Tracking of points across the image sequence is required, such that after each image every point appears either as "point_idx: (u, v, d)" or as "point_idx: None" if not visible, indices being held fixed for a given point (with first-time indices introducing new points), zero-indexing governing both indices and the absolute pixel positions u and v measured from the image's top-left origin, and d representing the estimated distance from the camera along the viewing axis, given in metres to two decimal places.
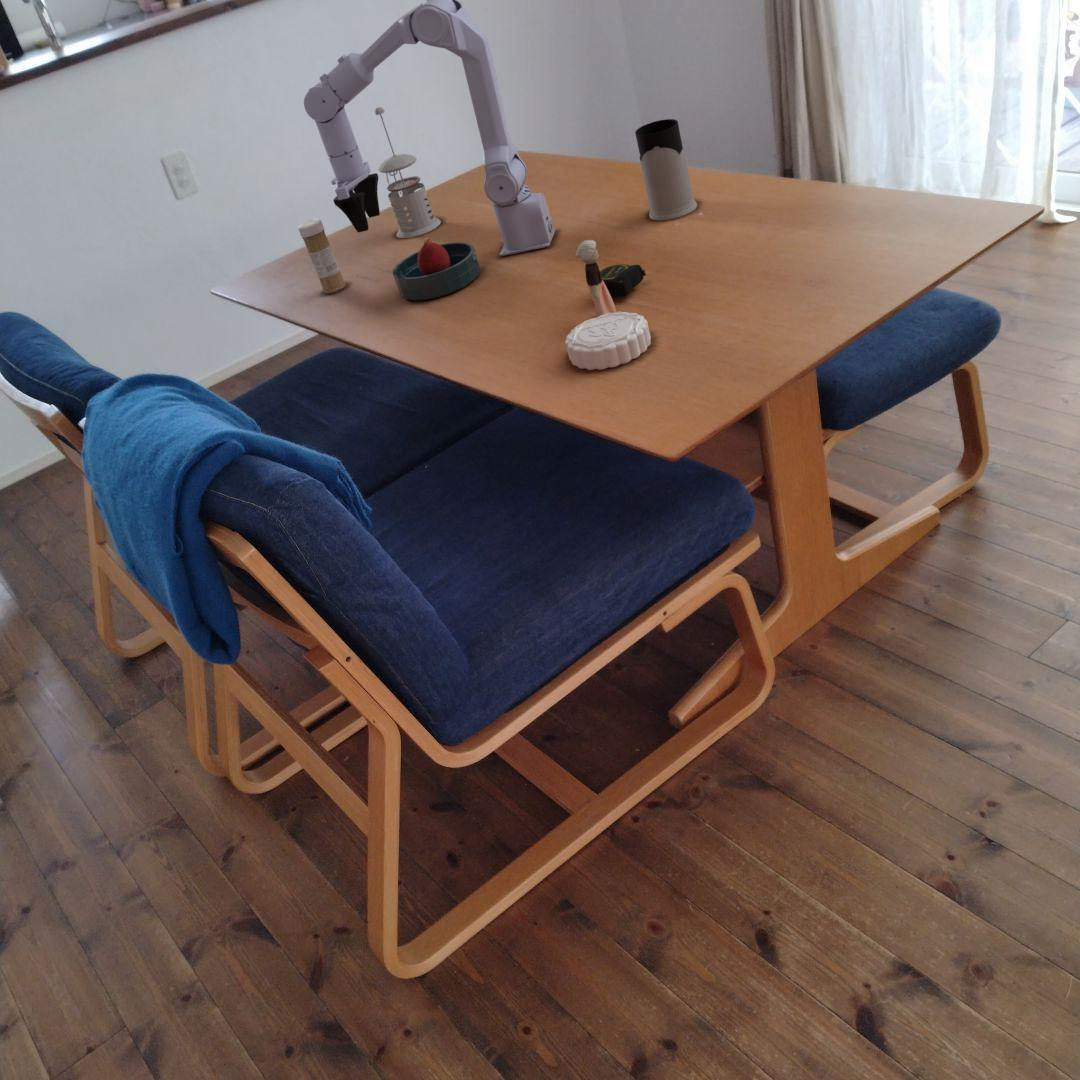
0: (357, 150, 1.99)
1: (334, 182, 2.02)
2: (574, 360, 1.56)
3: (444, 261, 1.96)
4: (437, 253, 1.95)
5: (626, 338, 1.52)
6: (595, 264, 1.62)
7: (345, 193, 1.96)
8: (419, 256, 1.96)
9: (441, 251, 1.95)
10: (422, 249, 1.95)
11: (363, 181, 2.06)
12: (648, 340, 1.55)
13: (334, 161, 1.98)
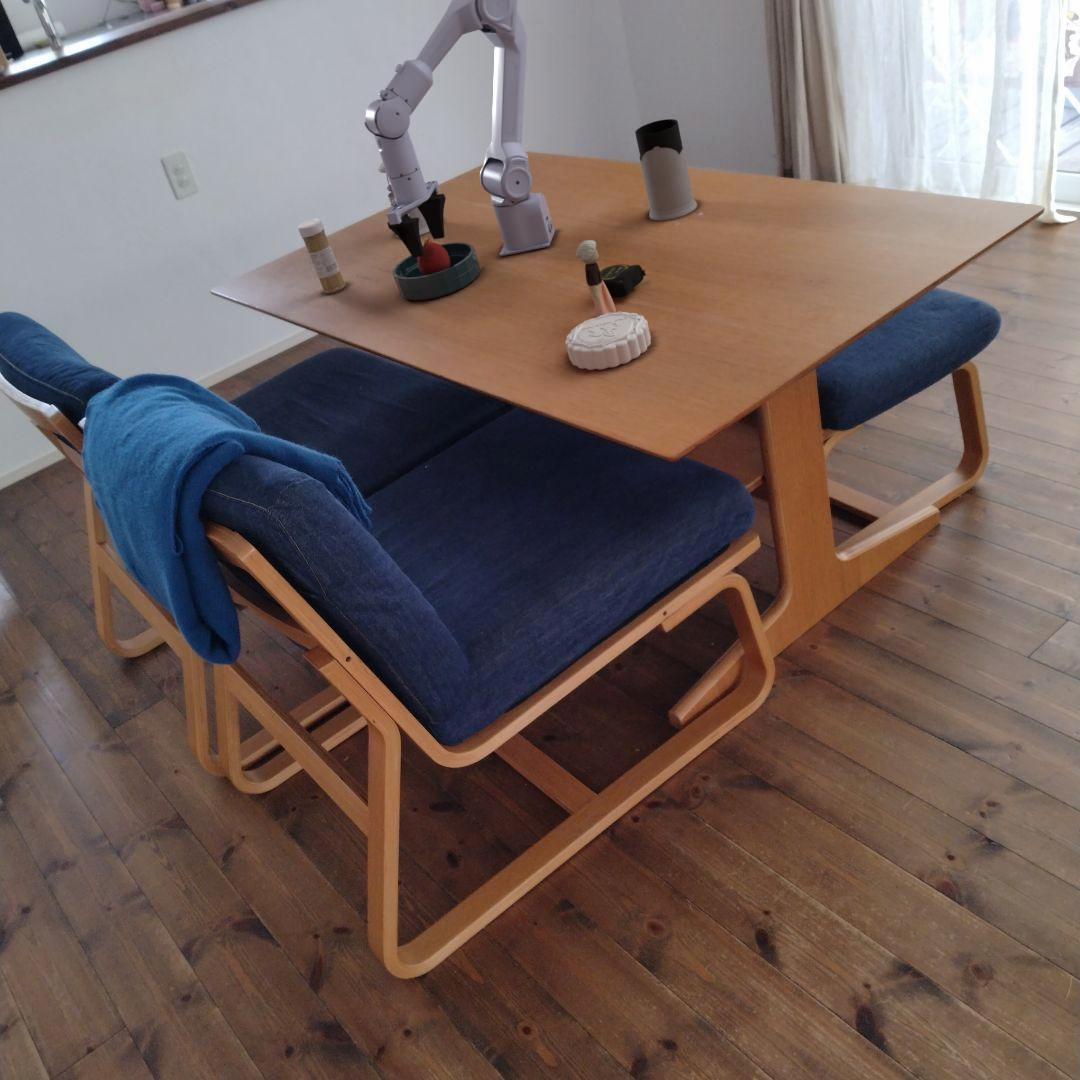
0: (417, 172, 1.87)
1: (394, 202, 1.92)
2: (574, 360, 1.56)
3: (444, 261, 1.96)
4: (437, 253, 1.95)
5: (626, 338, 1.52)
6: (595, 264, 1.62)
7: (396, 218, 1.86)
8: None
9: (441, 251, 1.95)
10: None
11: (428, 202, 1.95)
12: (648, 340, 1.55)
13: (392, 182, 1.88)
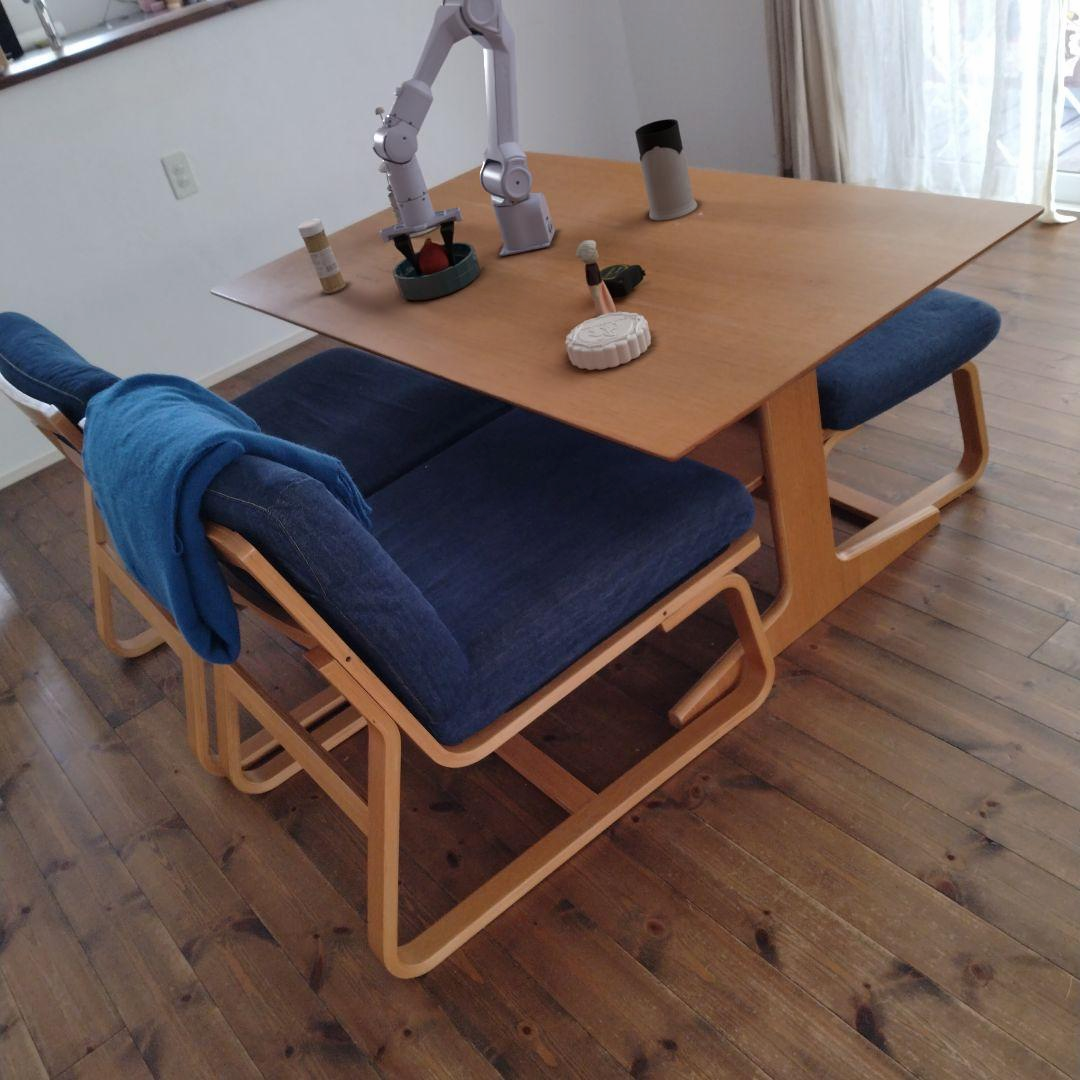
0: None
1: (425, 225, 1.91)
2: (574, 360, 1.56)
3: (444, 261, 1.96)
4: (437, 253, 1.95)
5: (626, 338, 1.52)
6: (595, 264, 1.62)
7: None
8: (419, 256, 1.96)
9: (441, 251, 1.95)
10: (422, 249, 1.95)
11: (408, 237, 1.95)
12: (648, 340, 1.55)
13: (427, 197, 1.90)
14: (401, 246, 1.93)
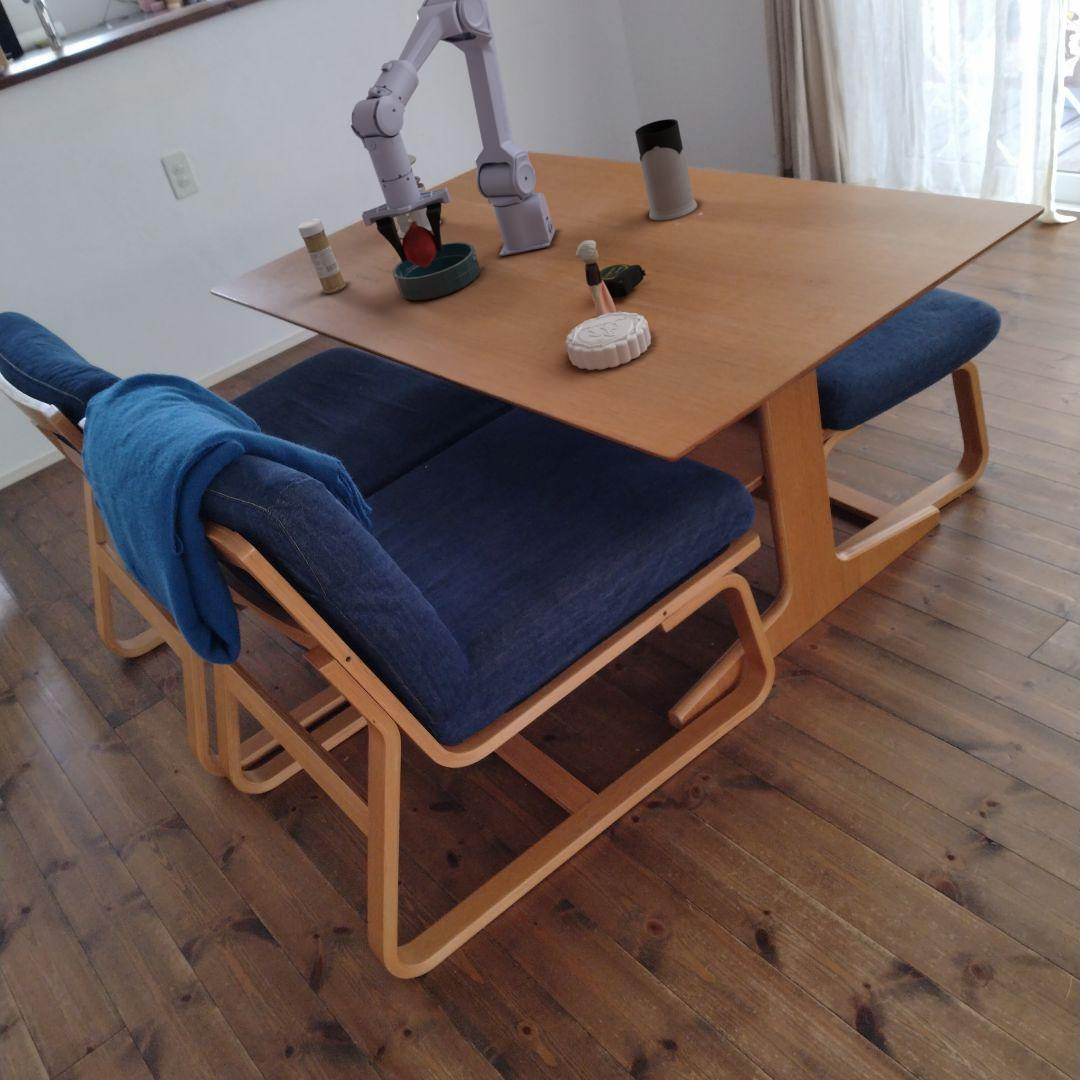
0: None
1: (410, 207, 1.77)
2: (574, 360, 1.56)
3: (431, 246, 1.82)
4: (423, 237, 1.81)
5: (626, 338, 1.52)
6: (595, 264, 1.62)
7: (448, 193, 1.80)
8: (404, 240, 1.82)
9: (427, 236, 1.82)
10: (407, 233, 1.82)
11: (391, 220, 1.82)
12: (648, 340, 1.55)
13: (411, 176, 1.77)
14: (384, 230, 1.79)
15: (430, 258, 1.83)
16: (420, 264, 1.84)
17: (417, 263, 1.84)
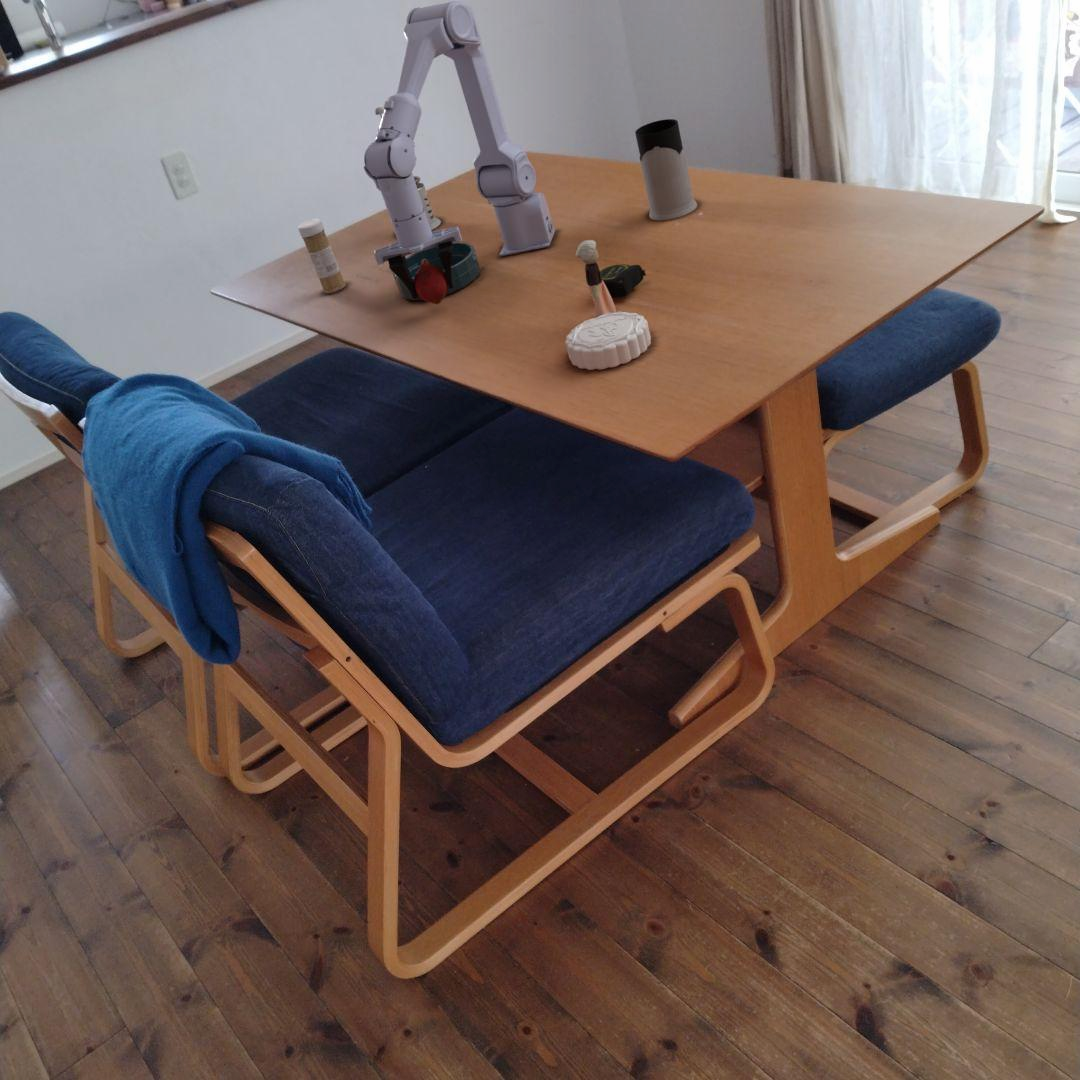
0: None
1: (422, 246, 1.79)
2: (574, 360, 1.56)
3: (442, 284, 1.84)
4: (435, 275, 1.83)
5: (626, 338, 1.52)
6: (595, 264, 1.62)
7: None
8: (416, 278, 1.84)
9: (439, 273, 1.84)
10: (419, 271, 1.84)
11: (403, 258, 1.84)
12: (648, 340, 1.55)
13: (423, 216, 1.79)
14: (396, 268, 1.81)
15: (441, 295, 1.85)
16: (431, 301, 1.86)
17: (428, 300, 1.86)
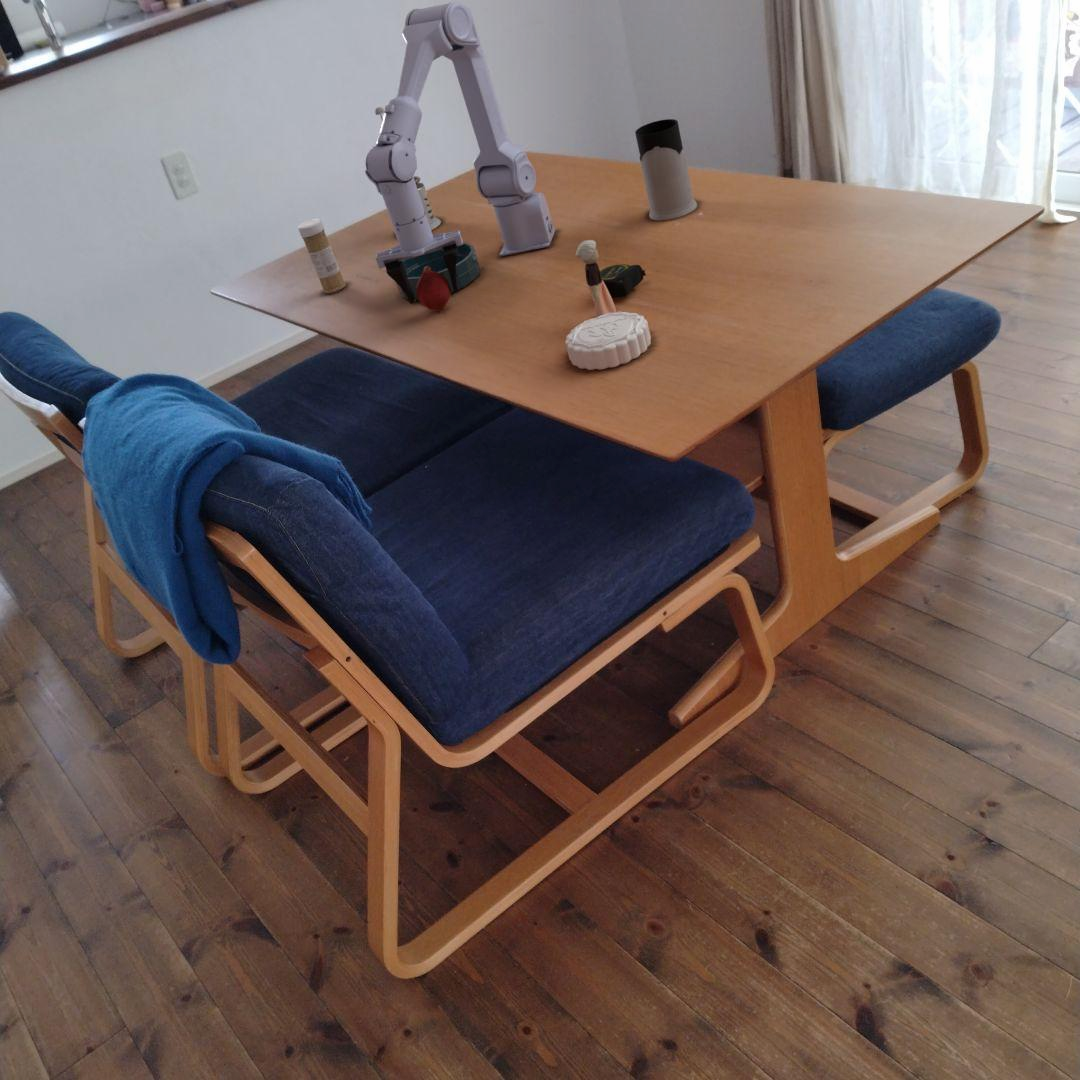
0: None
1: (423, 250, 1.79)
2: (574, 360, 1.56)
3: (444, 291, 1.85)
4: (437, 282, 1.84)
5: (626, 338, 1.52)
6: (595, 264, 1.62)
7: None
8: (418, 285, 1.85)
9: (441, 281, 1.84)
10: (421, 278, 1.84)
11: (400, 263, 1.84)
12: (648, 340, 1.55)
13: (425, 220, 1.79)
14: (393, 273, 1.82)
15: (444, 302, 1.86)
16: (434, 308, 1.87)
17: (431, 307, 1.86)
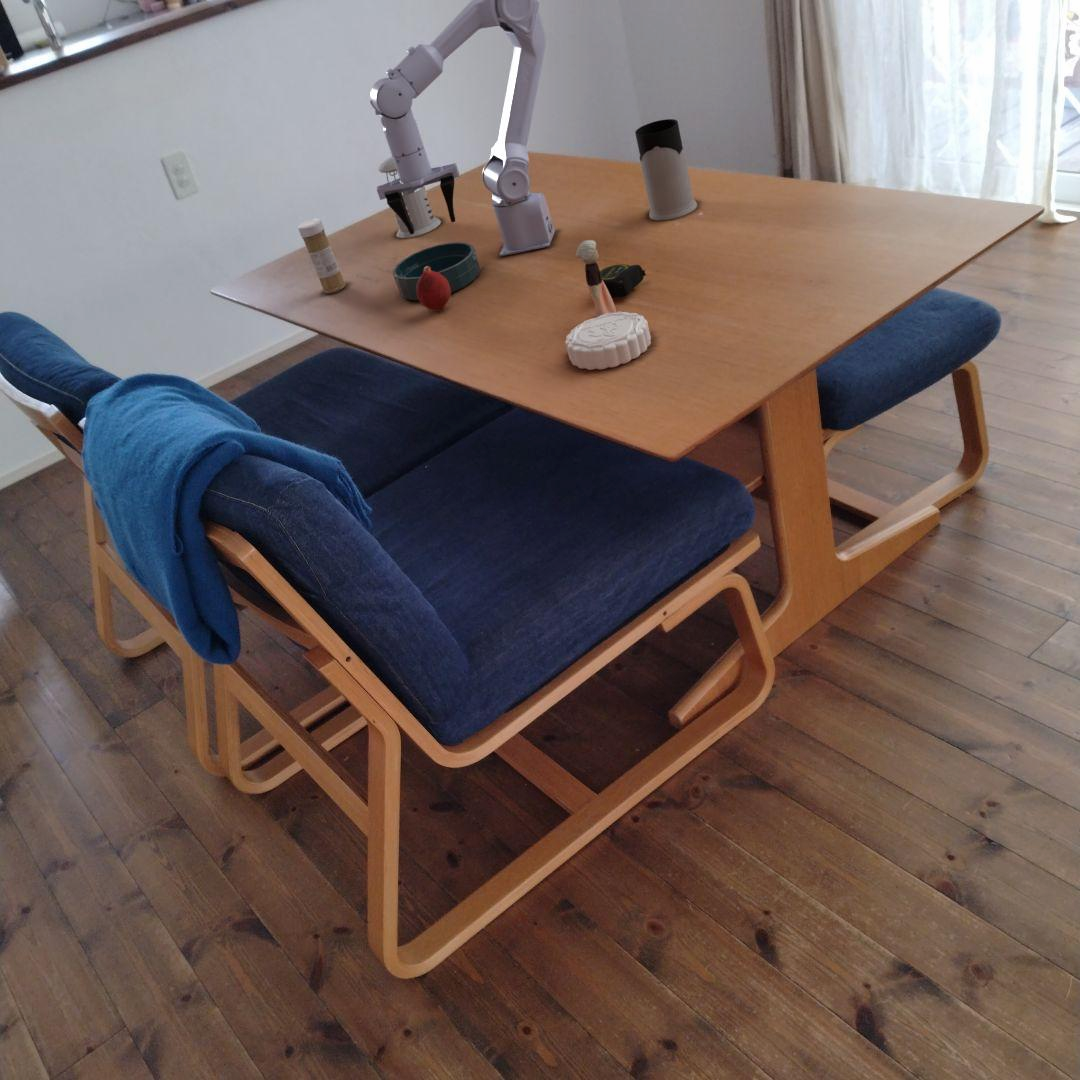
0: None
1: (422, 180, 1.90)
2: (574, 360, 1.56)
3: (444, 291, 1.85)
4: (437, 282, 1.84)
5: (626, 338, 1.52)
6: (595, 264, 1.62)
7: (457, 168, 1.93)
8: (418, 285, 1.85)
9: (441, 281, 1.84)
10: (421, 278, 1.84)
11: (400, 195, 1.94)
12: (648, 340, 1.55)
13: (423, 152, 1.89)
14: (394, 204, 1.92)
15: (444, 302, 1.86)
16: (434, 308, 1.87)
17: (431, 307, 1.86)
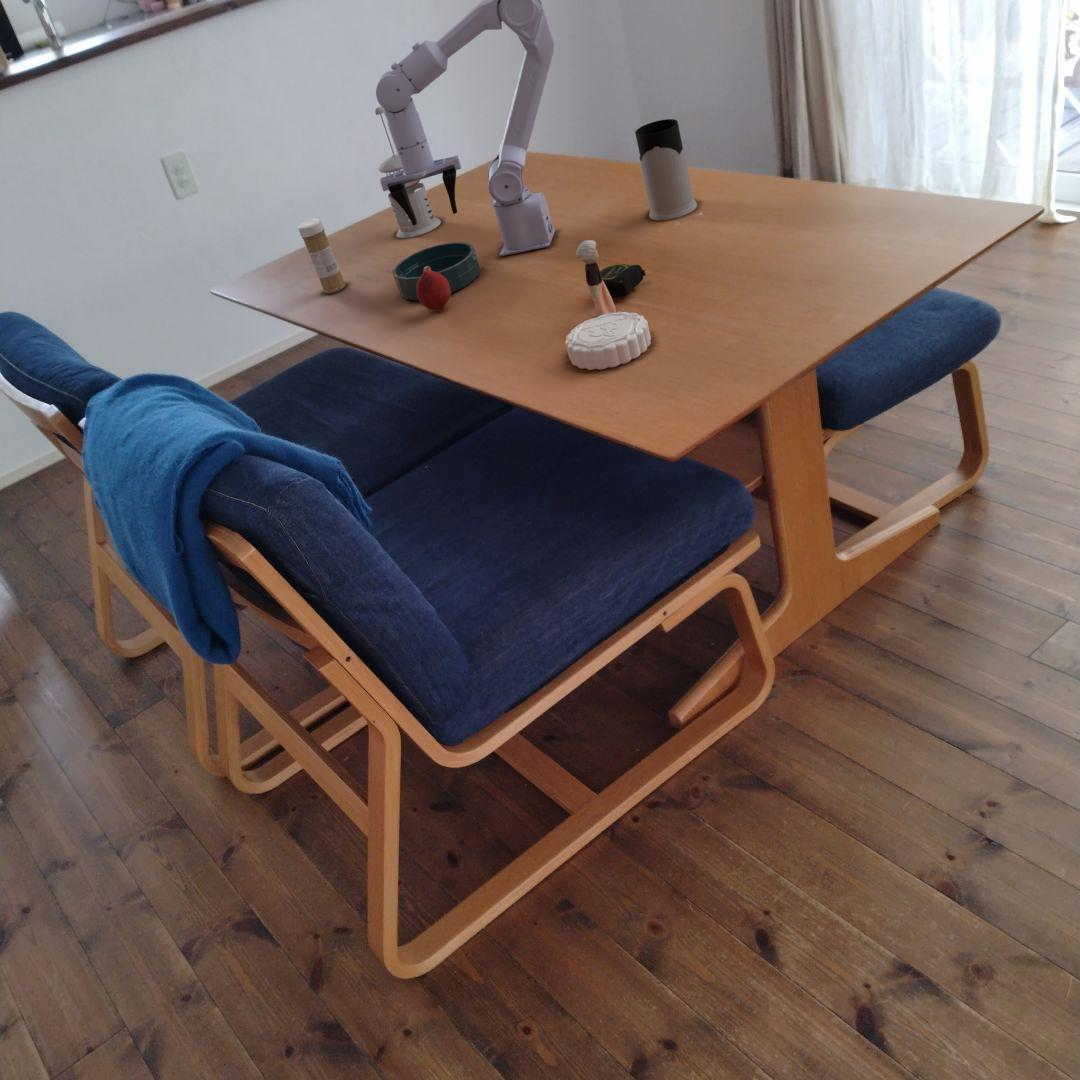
0: None
1: (424, 172, 1.93)
2: (574, 360, 1.56)
3: (444, 291, 1.85)
4: (437, 282, 1.84)
5: (626, 338, 1.52)
6: (595, 264, 1.62)
7: (459, 161, 1.97)
8: (418, 285, 1.85)
9: (441, 281, 1.84)
10: (421, 278, 1.84)
11: (403, 186, 1.98)
12: (648, 340, 1.55)
13: (426, 145, 1.93)
14: (397, 195, 1.96)
15: (444, 302, 1.86)
16: (434, 308, 1.87)
17: (431, 307, 1.86)
